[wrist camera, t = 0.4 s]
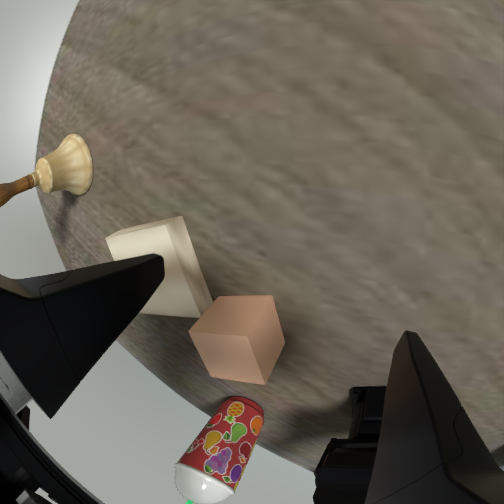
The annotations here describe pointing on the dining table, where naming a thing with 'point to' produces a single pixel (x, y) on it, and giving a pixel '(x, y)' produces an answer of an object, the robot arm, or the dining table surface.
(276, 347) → the cube
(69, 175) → the hand bell
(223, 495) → the smoothie
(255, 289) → the dining table surface
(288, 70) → the dining table surface
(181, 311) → the base
